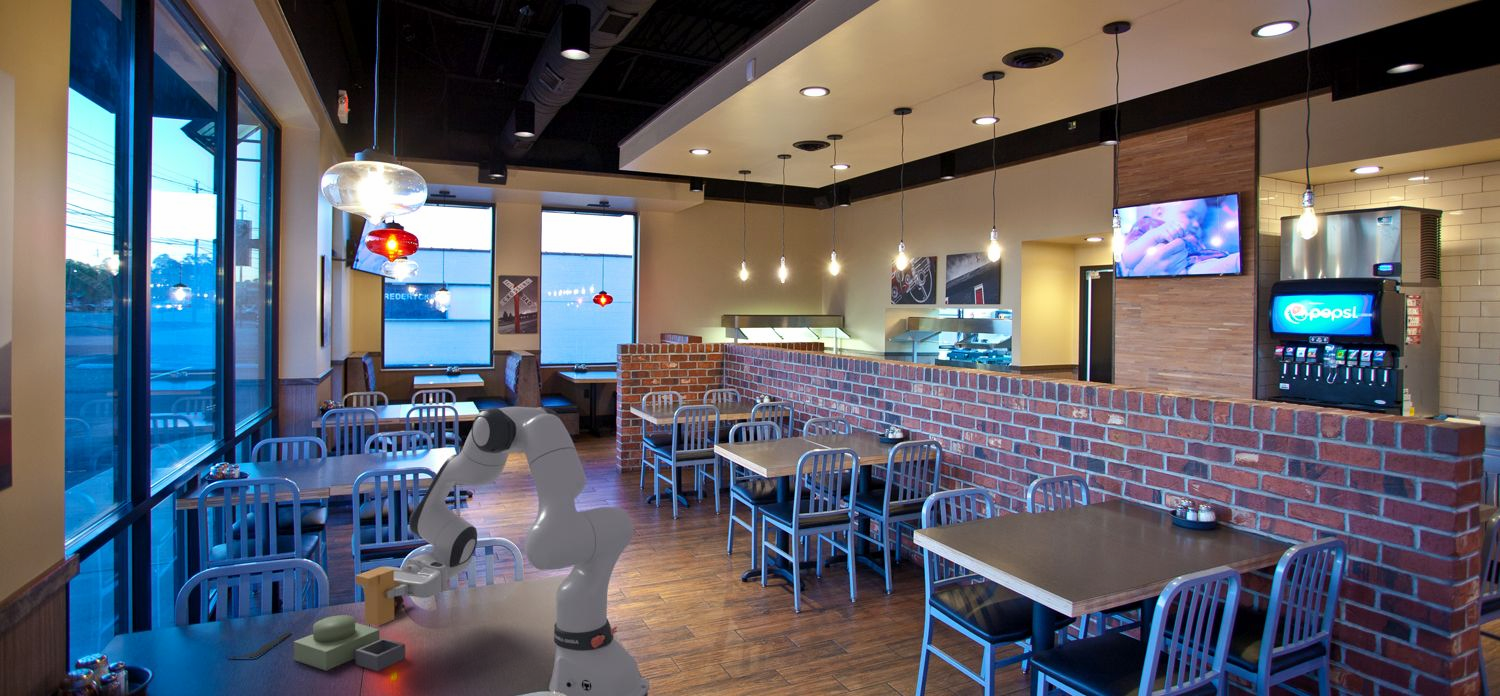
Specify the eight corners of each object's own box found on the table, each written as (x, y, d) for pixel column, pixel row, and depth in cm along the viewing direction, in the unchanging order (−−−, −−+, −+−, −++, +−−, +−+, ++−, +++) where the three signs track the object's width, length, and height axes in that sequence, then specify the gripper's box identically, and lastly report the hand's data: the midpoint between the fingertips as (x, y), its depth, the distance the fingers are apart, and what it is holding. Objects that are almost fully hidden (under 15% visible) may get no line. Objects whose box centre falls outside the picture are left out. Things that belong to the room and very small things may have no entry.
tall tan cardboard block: (394, 619, 182) (393, 569, 182) (369, 629, 176) (368, 578, 176) (381, 615, 185) (381, 566, 184) (356, 625, 179) (355, 575, 178)
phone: (293, 631, 198) (255, 657, 183) (293, 635, 198) (256, 660, 183) (265, 631, 198) (225, 657, 183) (265, 634, 198) (225, 660, 183)
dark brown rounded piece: (387, 602, 202) (418, 586, 217) (362, 593, 203) (395, 579, 218) (380, 627, 202) (412, 610, 217) (355, 619, 203) (389, 602, 218)
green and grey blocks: (409, 656, 185) (409, 625, 184) (356, 681, 172) (356, 648, 172) (348, 637, 195) (347, 608, 195) (294, 659, 182) (293, 629, 182)
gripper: (386, 557, 197) (342, 574, 184) (451, 566, 190) (410, 585, 177) (387, 581, 197) (342, 600, 184) (452, 591, 190) (410, 611, 177)
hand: (376, 593), depth 180 cm, fingers closed on tall tan cardboard block, 5 cm apart
